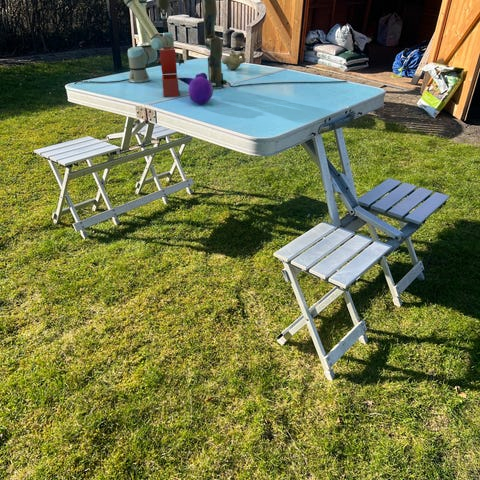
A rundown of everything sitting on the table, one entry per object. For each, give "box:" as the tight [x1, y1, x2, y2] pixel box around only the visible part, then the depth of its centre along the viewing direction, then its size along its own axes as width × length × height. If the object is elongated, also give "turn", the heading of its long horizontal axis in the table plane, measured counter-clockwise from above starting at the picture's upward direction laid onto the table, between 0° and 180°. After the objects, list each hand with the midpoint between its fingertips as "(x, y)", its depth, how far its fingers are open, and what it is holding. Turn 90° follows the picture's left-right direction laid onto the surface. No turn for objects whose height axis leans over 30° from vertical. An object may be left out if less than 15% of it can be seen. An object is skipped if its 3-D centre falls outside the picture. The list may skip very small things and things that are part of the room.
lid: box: [159, 46, 178, 75], centre depth 296 cm, size 18×10×8 cm
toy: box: [178, 72, 214, 105], centre depth 275 cm, size 16×18×27 cm
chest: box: [161, 73, 180, 98], centre depth 297 cm, size 17×10×11 cm, turn 9°
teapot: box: [221, 49, 246, 71], centre depth 371 cm, size 21×12×15 cm, turn 120°
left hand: (169, 63), depth 309 cm, fingers open, 13 cm apart
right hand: (165, 28), depth 279 cm, fingers open, 8 cm apart
